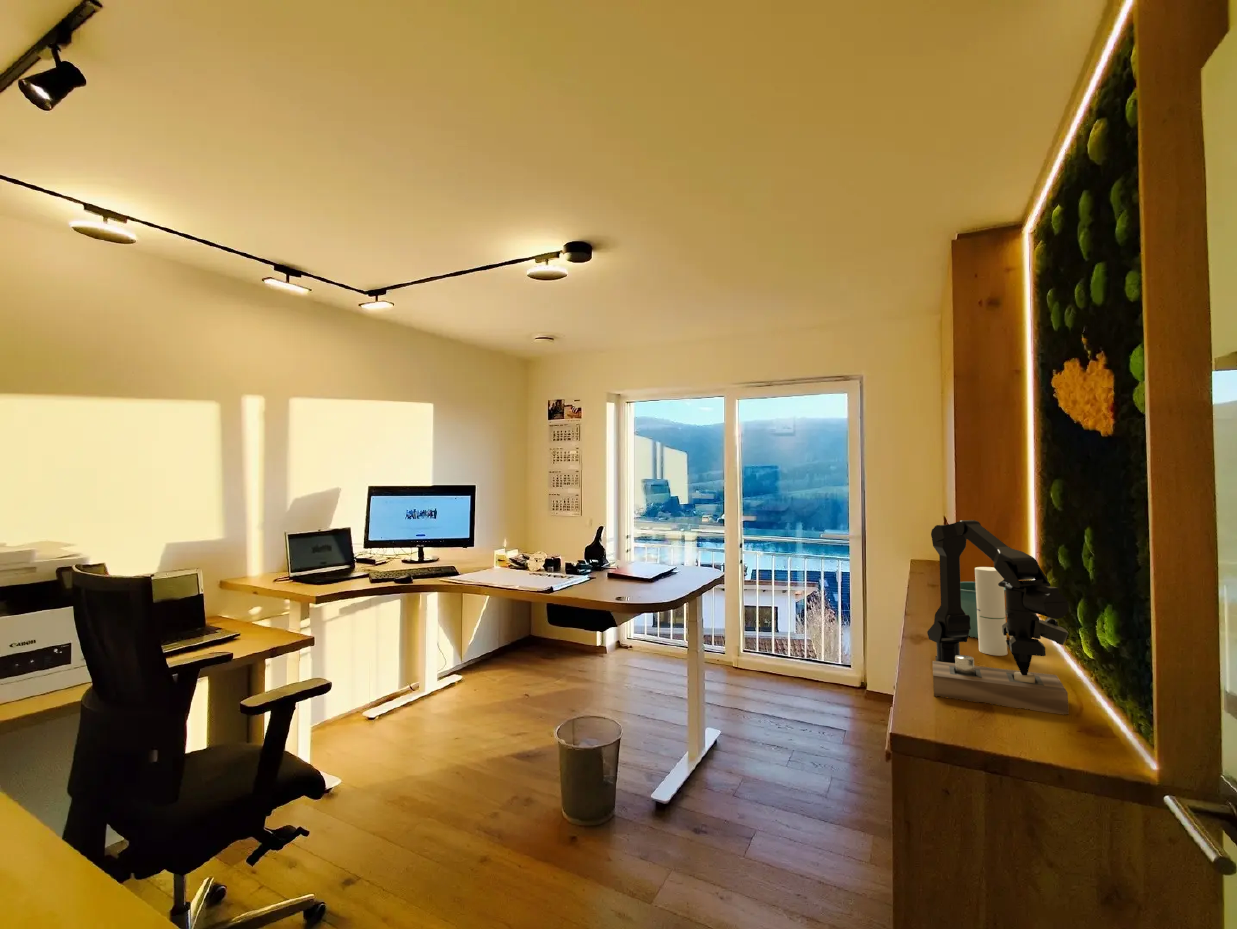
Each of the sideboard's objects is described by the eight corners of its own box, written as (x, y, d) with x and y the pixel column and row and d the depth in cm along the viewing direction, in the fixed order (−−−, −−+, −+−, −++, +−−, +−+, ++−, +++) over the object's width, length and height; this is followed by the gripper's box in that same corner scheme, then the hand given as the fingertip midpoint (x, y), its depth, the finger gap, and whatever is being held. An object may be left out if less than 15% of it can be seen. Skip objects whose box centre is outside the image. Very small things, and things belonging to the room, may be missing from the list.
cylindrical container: (998, 648, 169) (994, 566, 170) (1012, 655, 162) (1008, 570, 163) (974, 648, 170) (969, 567, 171) (987, 655, 163) (982, 570, 164)
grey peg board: (933, 679, 145) (932, 660, 145) (1057, 695, 132) (1056, 675, 132) (933, 696, 135) (932, 675, 135) (1068, 715, 122) (1067, 692, 122)
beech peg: (1013, 690, 133) (1012, 670, 133) (1034, 693, 131) (1033, 673, 131) (1016, 696, 130) (1015, 676, 130) (1037, 699, 128) (1036, 678, 128)
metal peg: (955, 673, 139) (954, 654, 139) (974, 675, 137) (973, 656, 137) (956, 678, 136) (955, 658, 136) (975, 680, 134) (974, 661, 134)
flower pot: (983, 643, 174) (980, 592, 175) (939, 630, 190) (937, 583, 190) (1021, 638, 179) (1019, 588, 179) (976, 625, 195) (974, 580, 195)
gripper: (1072, 621, 119) (1076, 693, 119) (1055, 603, 135) (1058, 667, 135) (1010, 616, 125) (1013, 685, 124) (1000, 599, 141) (1003, 661, 140)
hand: (1024, 674), depth 131 cm, fingers closed, pressing on beech peg
